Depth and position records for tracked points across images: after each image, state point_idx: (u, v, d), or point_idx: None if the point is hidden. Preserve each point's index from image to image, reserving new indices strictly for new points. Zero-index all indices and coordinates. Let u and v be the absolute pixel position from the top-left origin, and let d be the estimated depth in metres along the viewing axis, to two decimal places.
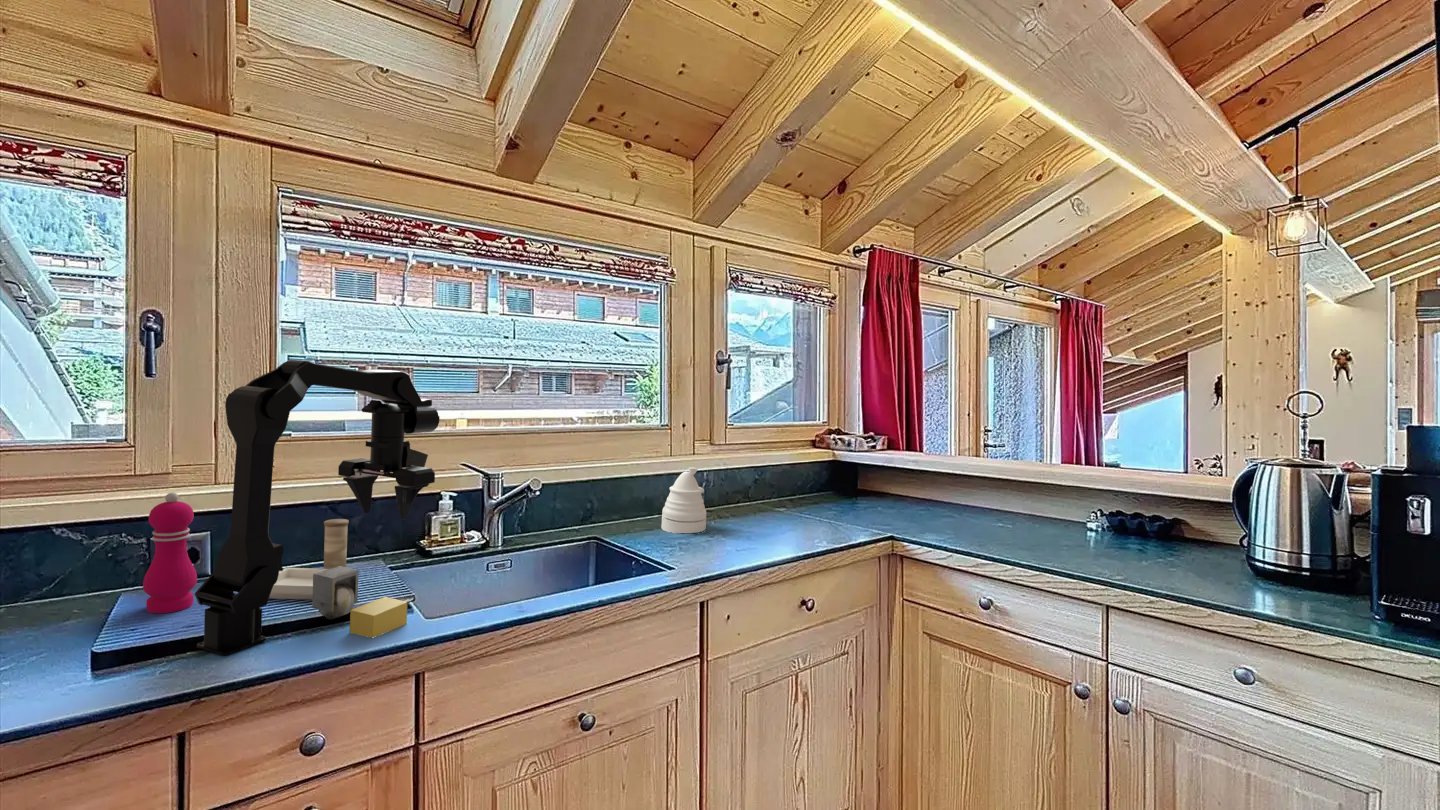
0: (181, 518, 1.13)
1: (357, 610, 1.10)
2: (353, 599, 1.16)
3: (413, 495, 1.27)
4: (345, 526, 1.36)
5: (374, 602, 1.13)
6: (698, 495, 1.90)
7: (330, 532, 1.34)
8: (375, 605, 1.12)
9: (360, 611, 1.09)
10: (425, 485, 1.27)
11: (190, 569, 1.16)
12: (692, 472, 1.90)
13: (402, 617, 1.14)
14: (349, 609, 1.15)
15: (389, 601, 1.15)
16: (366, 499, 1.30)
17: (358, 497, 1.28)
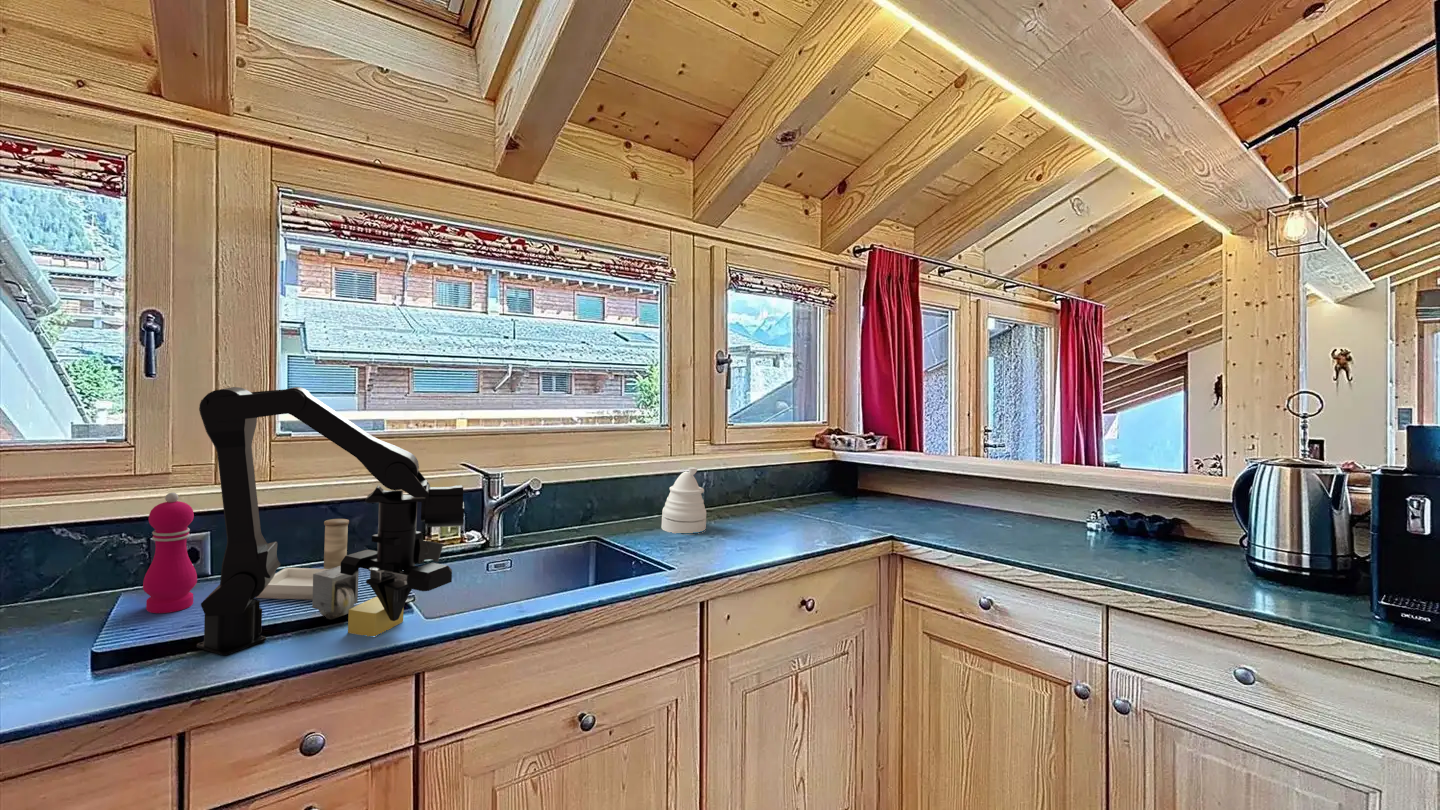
0: (181, 518, 1.13)
1: (356, 609, 1.10)
2: (353, 599, 1.16)
3: (406, 592, 1.11)
4: (345, 526, 1.36)
5: (370, 601, 1.14)
6: (698, 495, 1.90)
7: (330, 532, 1.34)
8: (372, 604, 1.12)
9: (359, 610, 1.09)
10: None
11: (190, 569, 1.16)
12: (692, 472, 1.90)
13: None
14: None
15: None
16: None
17: (384, 603, 1.09)
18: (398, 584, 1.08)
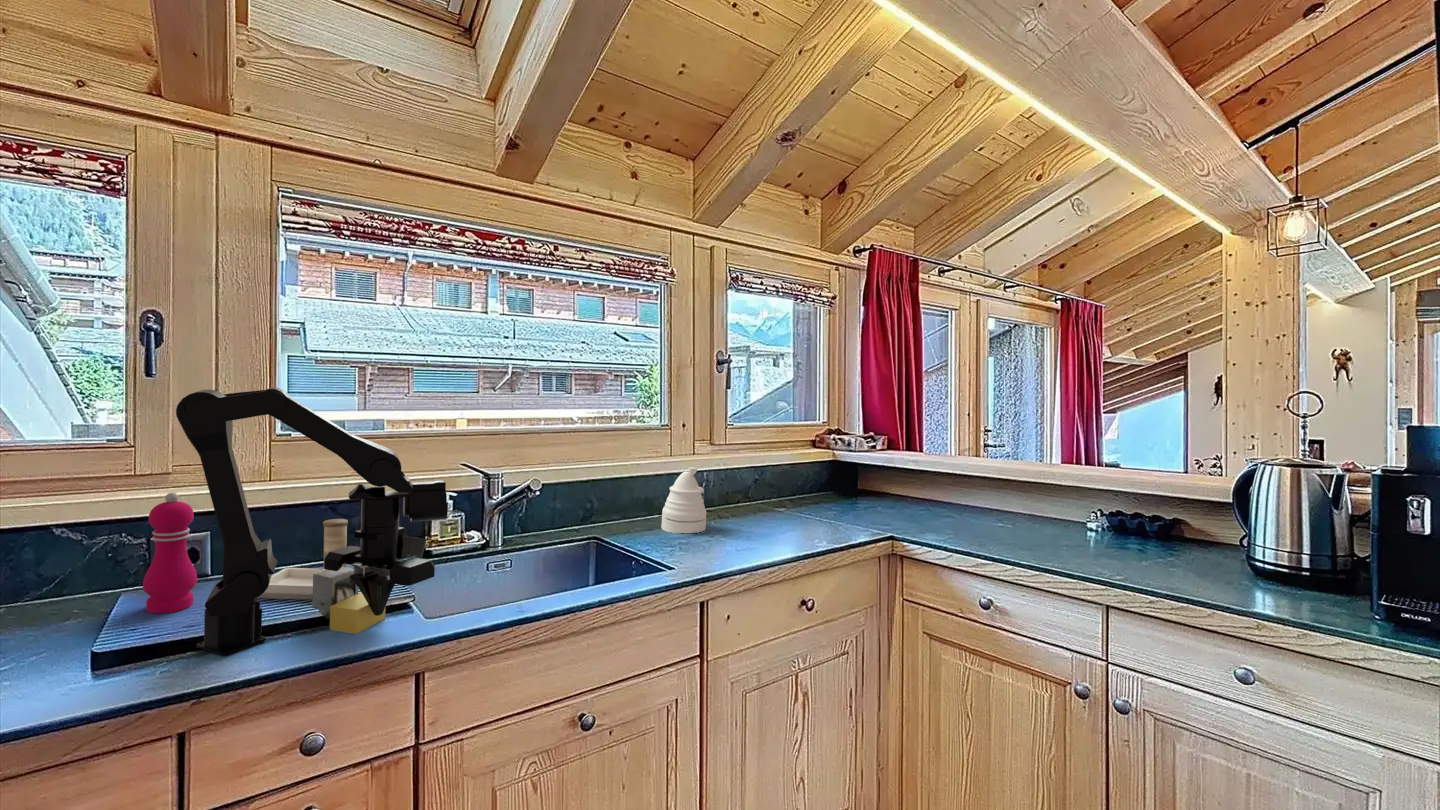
0: (181, 518, 1.13)
1: (337, 606, 1.10)
2: None
3: (389, 587, 1.12)
4: (344, 526, 1.36)
5: (352, 598, 1.14)
6: (698, 495, 1.90)
7: (329, 532, 1.34)
8: (354, 601, 1.13)
9: (341, 607, 1.10)
10: None
11: (190, 569, 1.16)
12: (692, 472, 1.90)
13: None
14: None
15: None
16: None
17: (367, 598, 1.11)
18: (381, 579, 1.10)
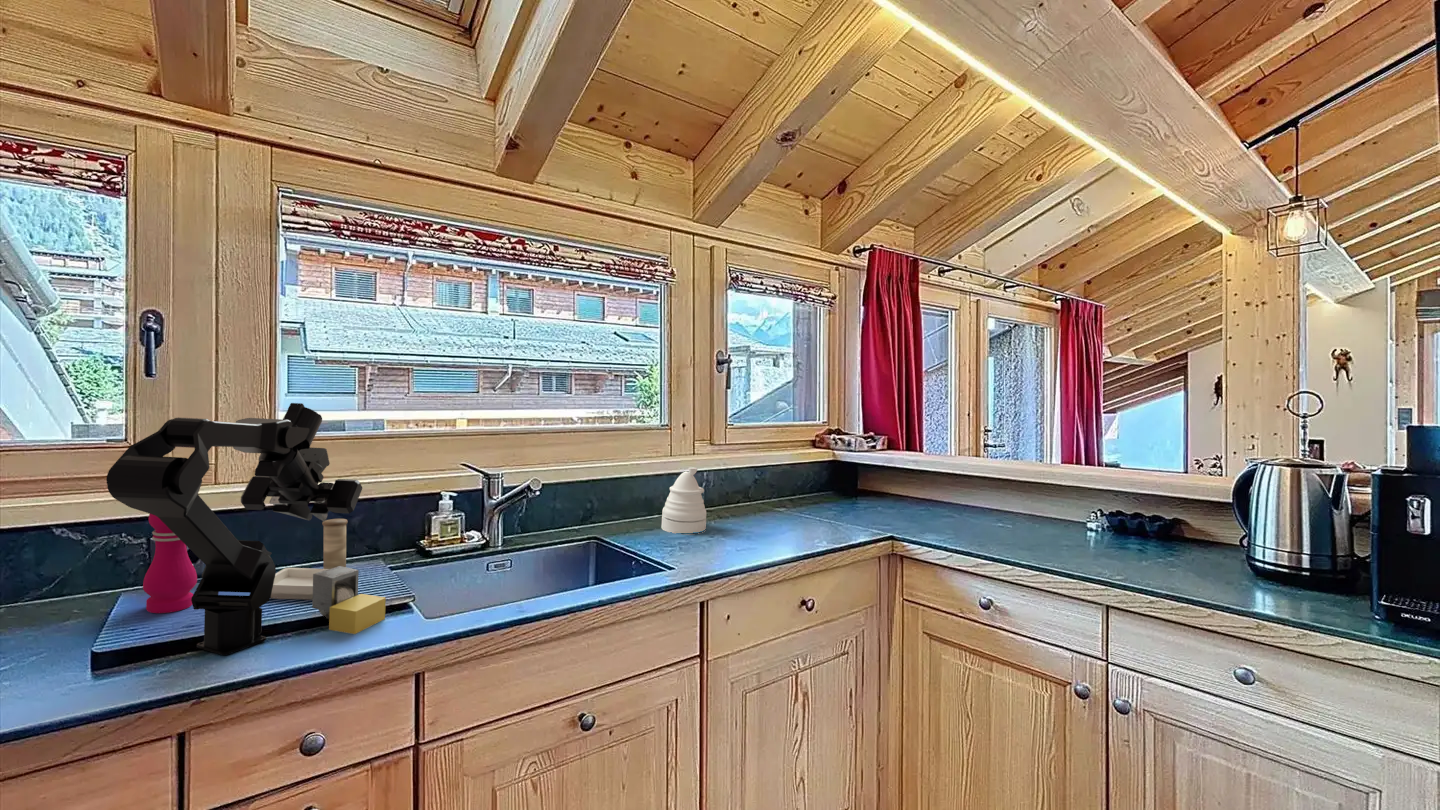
0: None
1: (337, 607, 1.10)
2: None
3: None
4: (343, 526, 1.36)
5: (351, 599, 1.14)
6: (698, 495, 1.90)
7: (329, 532, 1.34)
8: (354, 602, 1.13)
9: (340, 608, 1.10)
10: None
11: (190, 569, 1.16)
12: (692, 472, 1.90)
13: (381, 613, 1.15)
14: None
15: (367, 597, 1.16)
16: (305, 511, 1.25)
17: (299, 516, 1.24)
18: (322, 507, 1.22)
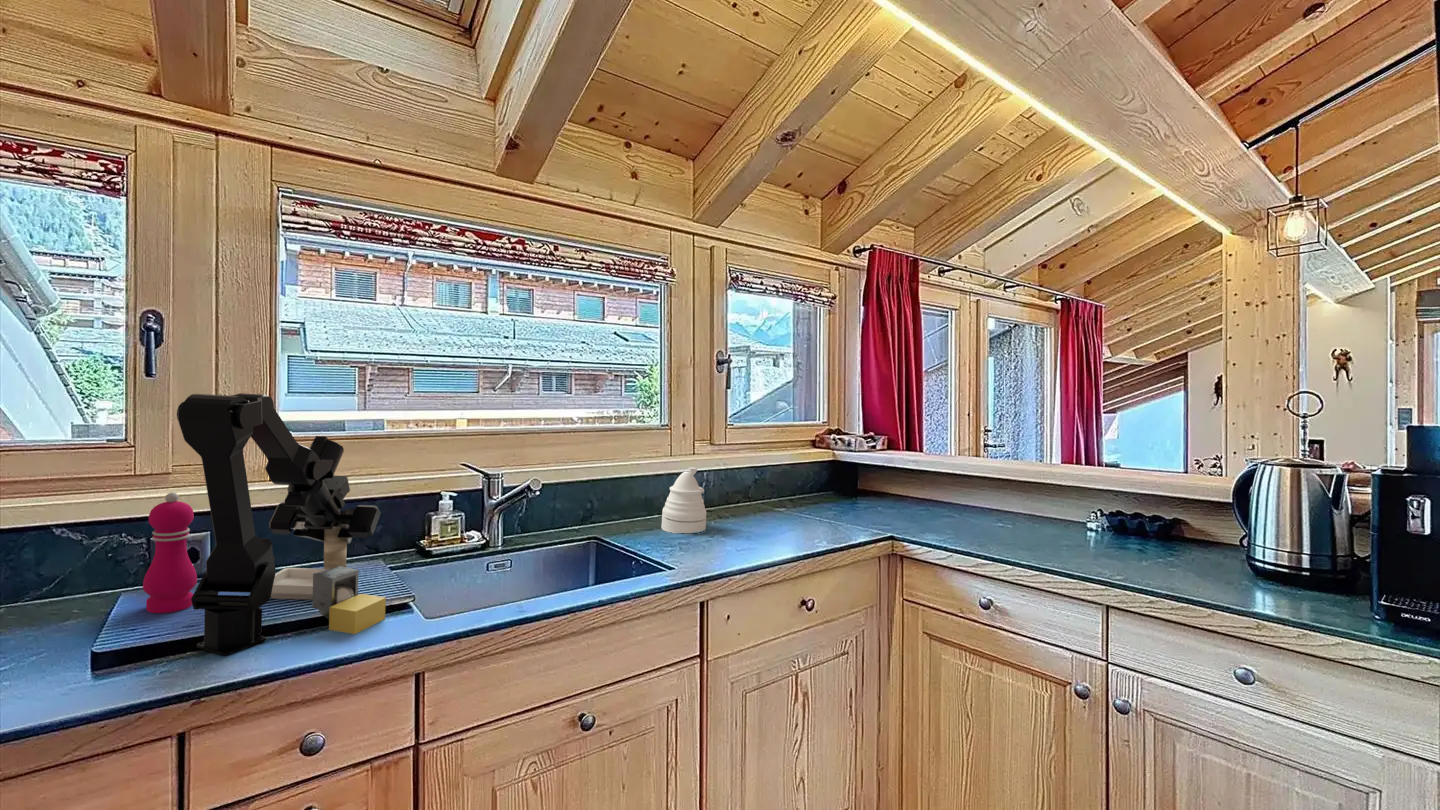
0: (181, 518, 1.13)
1: (337, 607, 1.10)
2: None
3: None
4: None
5: (352, 599, 1.14)
6: (698, 495, 1.90)
7: (329, 532, 1.34)
8: (354, 602, 1.13)
9: (340, 608, 1.10)
10: None
11: (190, 569, 1.16)
12: (692, 472, 1.90)
13: (381, 613, 1.15)
14: None
15: (367, 597, 1.16)
16: (322, 534, 1.35)
17: (317, 539, 1.34)
18: (348, 531, 1.32)
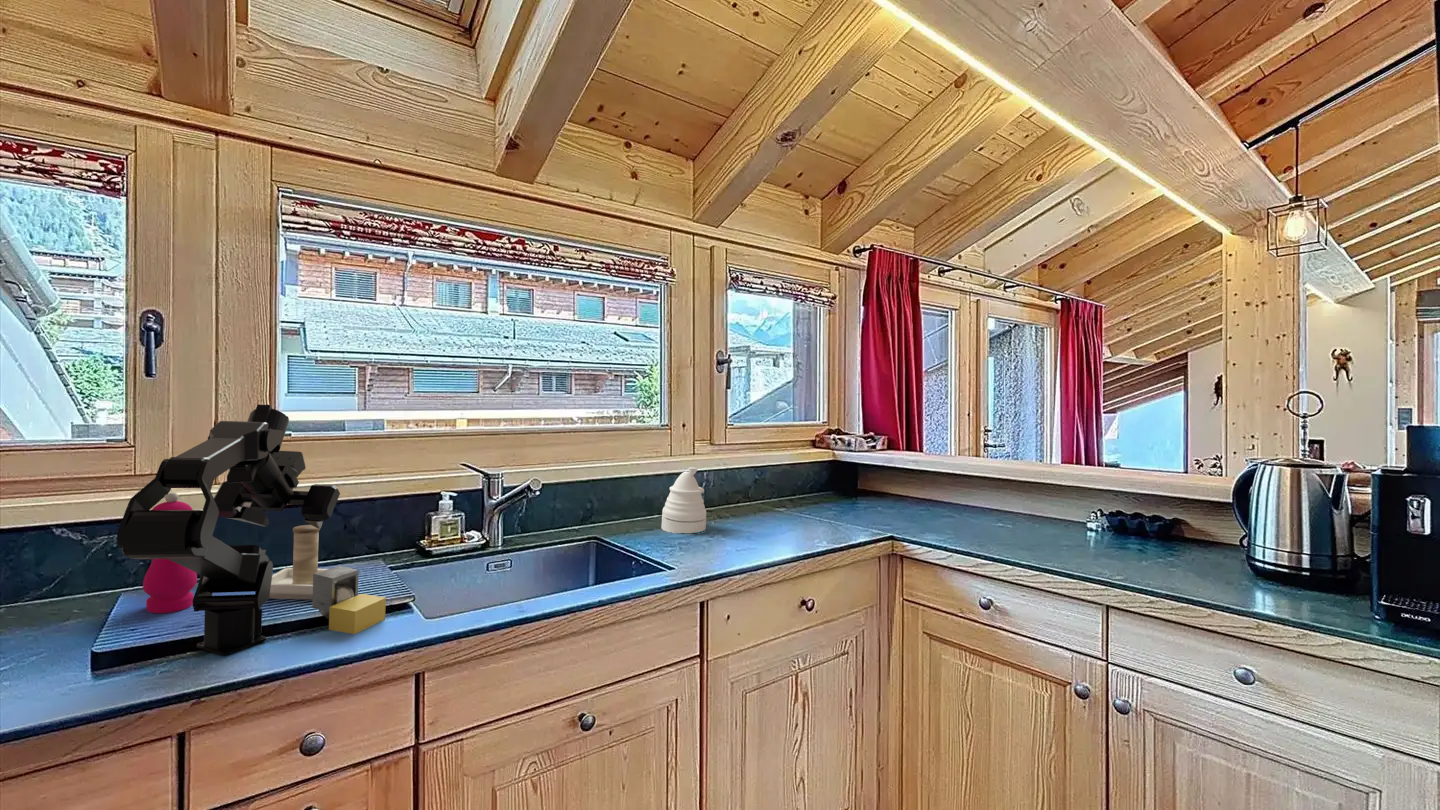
0: None
1: (336, 607, 1.10)
2: None
3: None
4: (315, 533, 1.26)
5: (352, 599, 1.14)
6: (698, 495, 1.90)
7: (299, 539, 1.25)
8: (354, 602, 1.13)
9: (340, 608, 1.10)
10: None
11: None
12: (692, 472, 1.90)
13: (381, 613, 1.15)
14: None
15: (367, 597, 1.16)
16: (260, 517, 1.19)
17: (253, 522, 1.18)
18: None
